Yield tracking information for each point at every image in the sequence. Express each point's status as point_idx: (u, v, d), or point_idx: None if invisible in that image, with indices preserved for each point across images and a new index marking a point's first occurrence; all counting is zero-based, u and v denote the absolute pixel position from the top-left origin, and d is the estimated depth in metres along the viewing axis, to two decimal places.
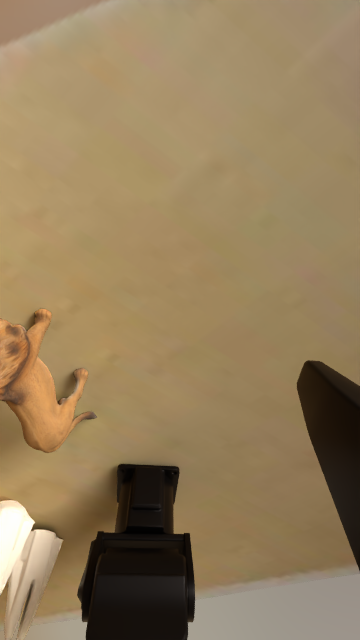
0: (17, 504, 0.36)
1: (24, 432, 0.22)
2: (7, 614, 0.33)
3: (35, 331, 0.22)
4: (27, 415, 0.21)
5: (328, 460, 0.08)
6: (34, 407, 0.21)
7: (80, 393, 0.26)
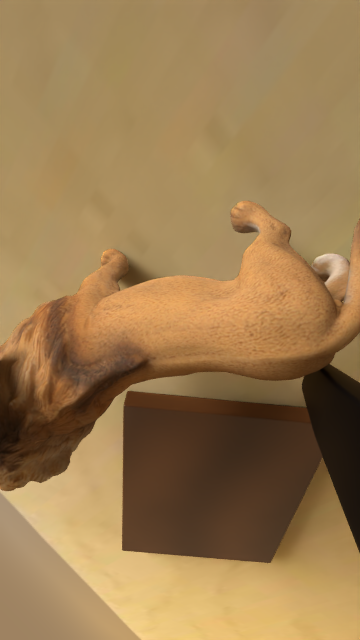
0: None
1: (242, 374, 0.09)
2: None
3: (83, 281, 0.12)
4: (184, 354, 0.09)
5: (334, 460, 0.08)
6: (165, 333, 0.09)
7: (271, 224, 0.11)
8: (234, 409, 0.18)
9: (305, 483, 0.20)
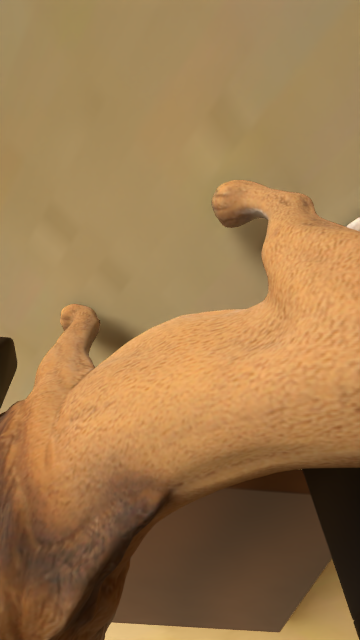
0: None
1: None
2: None
3: (39, 368, 0.08)
4: (231, 465, 0.05)
5: None
6: (186, 441, 0.05)
7: (281, 199, 0.07)
8: None
9: (326, 558, 0.17)
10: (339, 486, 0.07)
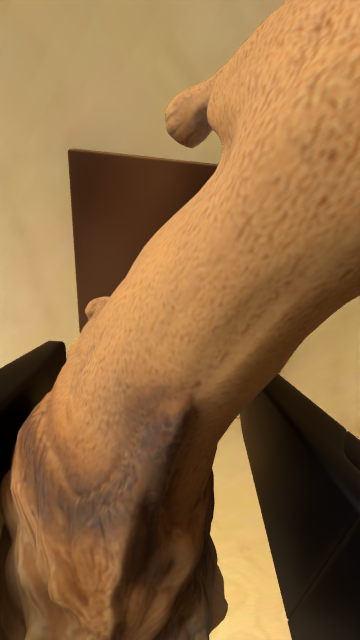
0: None
1: None
2: None
3: None
4: (238, 333, 0.04)
5: (254, 456, 0.08)
6: (175, 324, 0.04)
7: (220, 73, 0.06)
8: (191, 162, 0.17)
9: None
10: (277, 483, 0.07)
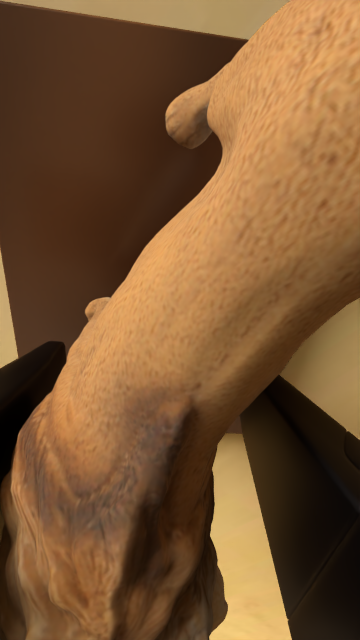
0: None
1: None
2: None
3: None
4: (238, 336, 0.04)
5: (254, 456, 0.08)
6: (175, 327, 0.04)
7: (220, 74, 0.06)
8: None
9: None
10: (278, 483, 0.07)
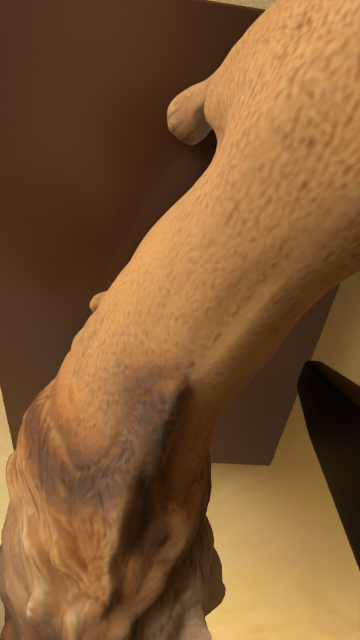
0: None
1: None
2: None
3: None
4: (229, 315, 0.04)
5: (328, 460, 0.08)
6: (169, 307, 0.04)
7: None
8: None
9: None
10: None
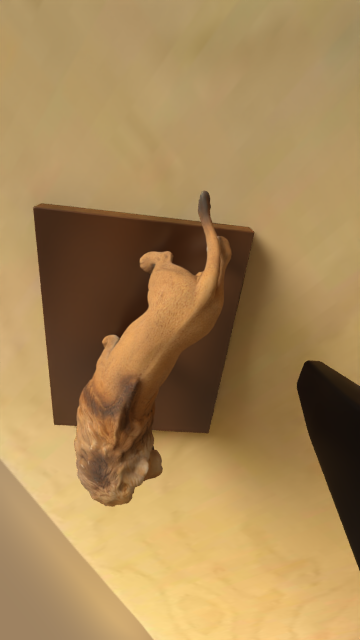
0: None
1: (185, 347, 0.14)
2: None
3: None
4: (150, 360, 0.14)
5: (328, 460, 0.08)
6: (133, 357, 0.14)
7: (157, 258, 0.17)
8: (151, 218, 0.18)
9: (230, 316, 0.20)
10: None
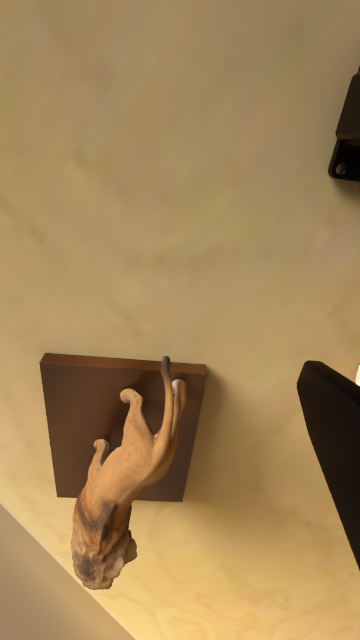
0: None
1: (147, 485, 0.19)
2: None
3: (88, 472, 0.24)
4: (123, 493, 0.20)
5: (328, 460, 0.08)
6: (111, 490, 0.20)
7: (132, 402, 0.22)
8: (128, 364, 0.23)
9: (193, 425, 0.26)
10: None
